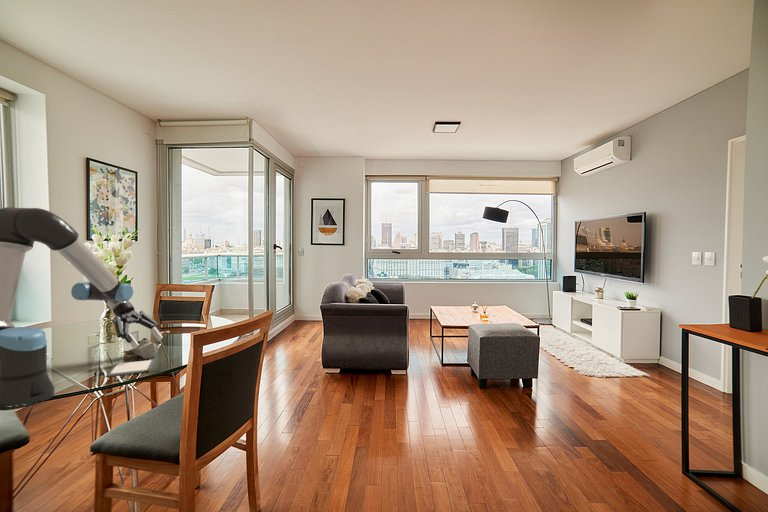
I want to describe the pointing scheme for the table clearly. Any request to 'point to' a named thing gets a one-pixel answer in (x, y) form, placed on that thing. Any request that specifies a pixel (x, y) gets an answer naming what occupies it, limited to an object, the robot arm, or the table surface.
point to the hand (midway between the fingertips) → (149, 343)
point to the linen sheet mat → (130, 368)
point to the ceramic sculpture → (144, 349)
